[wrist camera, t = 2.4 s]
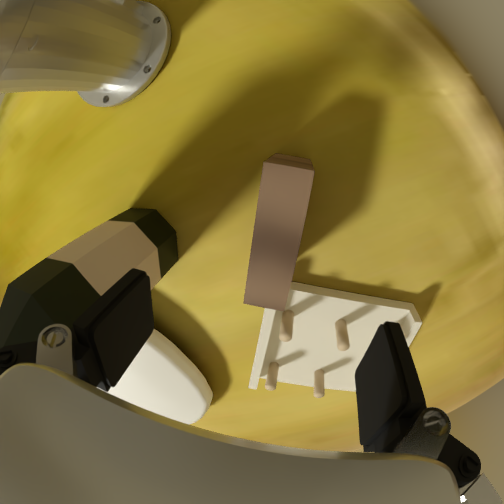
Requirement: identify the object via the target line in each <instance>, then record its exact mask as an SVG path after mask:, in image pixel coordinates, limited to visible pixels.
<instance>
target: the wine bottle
mask: <svg viewBox="0 0 504 504" xmlns="http://www.w3.org/2000/svg"><path fill="white" fill-rule="evenodd" d="M177 261H178V249H177V236H176V231H175V230H174V229H173V228H172V227H171V226H170V225H169V224H168V222H167V221H166V220H165V219H164V218H163V217H162V216H161V215H160V214H159V213H158V212H157V210H156V209H137V208H130V209H128V210H126V211H124V212H123V213H121V214H119V215H117V216H115V217H113V218H112V219H110V220H108V221H106V222H104V223H103V224H101V225H99V226H97V227H96V228H94V229H92V230H90V231H89V232H87V233H85V234H84V235H82V236H80V237H79V238H77V239H75V240H74V241H72V242H70V243H69V244H67V245H66V246H64V247H62V248H61V249H59V250H58V251H56V252H55V253H53V254H51V255H50V256H48V257H47V258H45V259H44V260H42V261H41V262H39V263H38V264H36V265H35V266H34V267H32V268H31V269H29V270H28V271H26V272H25V273H23V274H22V275H21V276H19V277H18V278H17V279H15V280H14V281H12V282H11V283H10V284H8V287H7V290H6V293H5V295H4V298H3V301H2V304H1V307H0V349H1V348H2V347H4V346H8V345H14V344H20V343H26V342H32V341H38V337H39V334H40V333H41V331H42V330H43V329H44V328H46V327H48V326H50V325H53V324H62V325H65V326H67V327H68V328H69V329H71V328H72V327H73V325H72V323H73V322H74V321H75V320H76V319H77V318H79V317H80V316H81V315H82V314H83V313H84V312H85V311H86V310H87V309H88V308H89V307H90V306H91V305H92V304H93V303H94V302H95V301H96V300H97V299H98V298H100V297H101V296H102V295H103V294H104V293H105V292H106V291H107V290H108V289H109V288H110V287H112V286H113V285H114V284H115V283H116V282H117V281H118V280H119V279H120V278H122V277H123V276H124V275H125V274H126V273H127V272H128V271H129V270H131V269H132V268H135V269H139V270H143V271H145V272H146V273H147V275H148V276H149V277H150V286H151V290H152V289H153V288H154V286H155V285H156V284H157V283H158V282H159V281H160V280H161V279H162V277H163V276H164V275H165V274H166V273H167V272H168V271H169V270H170V268H171V267H172V266H173V265H174V264H175V263H176V262H177Z"/></svg>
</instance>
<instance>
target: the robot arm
mask: <svg viewBox="0 0 504 504" xmlns="http://www.w3.org/2000/svg"><path fill="white" fill-rule="evenodd" d="M170 41H171V29H170V23H169V21H168V18H167V16H166V15H165V14H164V12H163V11H162V10H160V9H159V8H158V7H156V6H155V5H153V4H151V3H149V2H144V1H136V0H0V94H2V93H13V92H28V91H77V92H78V94H79V95H80V96H81V98H82V99H83V100H84V101H86V102H87V103H89V104H91V105H94V106H99V107H113V106H117V105H120V104H123V103H125V102H127V101H129V100H131V99H132V98H134V97H135V96H137V95H138V94H140V93H141V92H142V91H143V90H144V89H145V88H146V87H147V86H148V85H149V84H150V83H151V81H152V80H153V79H154V78H155V77H156V75H157V74H158V72H159V70H160V69H161V67H162V65H163V63H164V61H165V59H166V57H167V54H168V50H169V47H170ZM150 70H151V71H150ZM72 325H73V327H72V328H71V329H69V328H68V327H67V326H65V325H62V324H53V325H50V326H48V327H46V328H44V329H43V330H42V331H41V333H40V334H39V337H38V341H32V342H26V343H20V344H14V345H8V346H4V347H2V348H1V349H0V504H502V500H501V498H500V496H499V495H498V493H497V492H496V490H495V489H494V487H493V486H492V484H491V483H490V481H489V480H488V479H487V477H486V476H485V474H484V473H482V474H481V475H480V470H481V462H480V459H479V457H478V456H477V454H476V453H474V452H473V451H472V450H470V449H469V448H468V447H466V446H465V445H464V444H462V443H461V442H460V441H458V440H457V439H456V438H454V437H453V436H452V435H450V434H449V433H450V429H451V423H450V420H449V417H448V416H447V414H446V413H445V412H443V411H442V410H441V409H438V408H435V407H430V408H427V407H426V402H425V398H424V394H423V391H422V387H421V384H420V381H419V378H418V374H417V371H416V368H415V365H414V362H413V359H412V356H411V353H410V350H409V347H408V345H407V342H406V339H405V336H404V334H403V331H402V328H401V326H400V324H399V323H396V322H389V321H385V322H384V324H380V325H379V327H378V329H377V331H376V333H375V335H374V337H373V339H372V341H371V343H370V345H369V347H368V349H367V351H366V352H365V354H364V356H363V358H362V360H361V362H360V363H359V365H358V367H357V369H356V371H355V385H356V395H357V407H358V420H359V436H360V444H361V445H363V447H364V452H375V453H359V452H357V453H356V452H337V451H321V450H310V449H301V448H292V447H285V446H278V445H272V444H266V443H261V442H256V441H250V440H246V439H241V438H236V437H232V436H228V435H224V434H220V433H216V432H212V431H209V430H205V429H202V428H198V427H195V426H192V425H188V424H185V423H182V422H179V421H176V420H173V419H170V418H167V417H165V416H162V415H159V414H156V413H154V412H151V411H149V410H146V409H144V408H141V407H139V406H136V405H134V404H132V403H129V402H127V401H125V400H122V399H120V398H118V397H116V396H114V395H111V394H109V393H107V392H108V391H109V389H110V388H111V387H115V386H116V385H117V383H118V382H119V380H120V379H121V377H122V376H123V374H124V373H125V371H126V370H127V368H128V367H129V365H130V364H131V363H132V361H133V360H134V358H135V357H136V355H137V354H138V353H139V351H140V350H141V348H142V347H143V345H144V344H145V343H146V341H147V340H148V338H149V337H150V336H151V334H152V332H153V330H154V320H153V310H152V299H151V286H150V277H149V276H148V275H147V273H146V272H145V271H143V270H139V269H135V268H132V269H131V270H129V271H128V272H127V273H126V274H125V275H124V276H123V277H122V278H120V279H119V280H118V281H117V282H116V283H115V284H114V285H113V286H112V287H110V288H109V289H108V290H107V291H106V292H105V293H104V294H103V295H102V296H101V297H100V298H98V299H97V300H96V301H95V302H94V303H93V304H92V305H91V306H90V307H89V308H88V309H87V310H86V311H85V312H84V313H83V314H82V315H81V316H80V317H79V318H77V319H76V320H75V321H74V322H73V323H72ZM97 387H98V388H97ZM99 388H100V389H99ZM101 389H102V390H101ZM103 390H104V391H103ZM105 391H106V392H105Z"/></svg>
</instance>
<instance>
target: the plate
mask: <svg viewBox="0 0 504 504" xmlns="http://www.w3.org/2000/svg"><path fill="white" fill-rule="evenodd" d="M97 388H98V387H97ZM99 389H100V388H99ZM101 390H102V389H101ZM103 391H104V390H103ZM105 392H106V391H105ZM107 393H109V394H111V395H114V396H116V397H118V398H120V399H122V400H125V401H127V402H129V403H132V404H134V405H136V406H139V407H141V408H144V409H146V410H149V411H151V412H154V413H156V414H159V415H162V416H165V417H167V418H170V419H173V420H176V421H179V422H182V423H185V424H192V423H195V422H197V421H198V420H199V419H201V418H202V417H203V416H204V414H205V413H206V412H207V410H208V409H209V407H210V404H211V401H212V397H213V392H212V390H211V388H210V387H209V385H208V383H207V381H206V379H205V377H204V376H203V375H202V373H201V372H200V371H199V369H198V368H197V367H196V366H195V365H194V364H193V363H192V362H191V361H190V360H189V359H188V358H187V357H186V356H185V355H184V354H183V353H182V352H181V351H180V350H179V348H178V347H177V346H176V345H175V344H173V343H172V342H171V341H170V340H168V339H167V338H166V337H165V336H164V335H162V334H161V333H160V332H158V331H157V330H155V329H154V330H153V332H152V334H151V336H150V337H149V338H148V340H147V341H146V343H145V344H144V345H143V347H142V348H141V350H140V351H139V353H138V354H137V355H136V357H135V358H134V360H133V361H132V363H131V364H130V365H129V367H128V368H127V370H126V371H125V373H124V374H123V376H122V377H121V379H120V380H119V382H118V383H117V385H116V386H115V387H111V388H110V389H109V391H108V392H107Z"/></svg>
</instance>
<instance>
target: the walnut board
mask: <svg viewBox="0 0 504 504" xmlns="http://www.w3.org/2000/svg"><path fill="white" fill-rule="evenodd" d="M314 172H315V171H314V168H313V165H312V162H311V160H310V159H305V158H300V157H295V156H289V155H284V154H278V153H276V154H274V155H273V156H271V157H270V158H268V159H267V160H266V161H264V162H263V169H262V176H261V183H260V190H259V197H258V204H257V211H256V218H255V225H254V232H253V239H252V246H251V253H250V260H249V267H248V274H247V281H246V289H245V296H244V304H249V305H254V306H258V307H263V308H268V309H273V310H278V311H283V312H284V310H285V306H286V302H287V298H288V294H289V290H290V286H291V282H292V277H293V273H294V269H295V264H296V260H297V255H298V251H299V246H300V242H301V237H302V233H303V228H304V223H305V218H306V213H307V208H308V203H309V198H310V193H311V188H312V183H313V177H314Z"/></svg>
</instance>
